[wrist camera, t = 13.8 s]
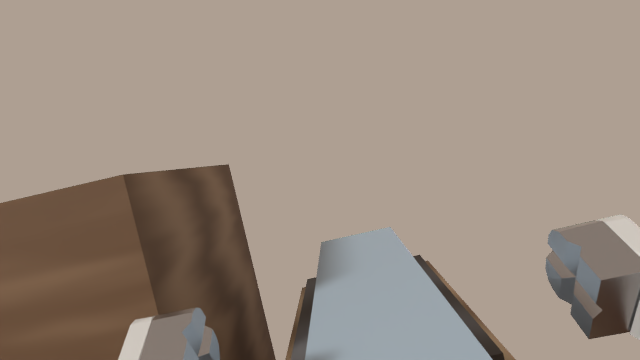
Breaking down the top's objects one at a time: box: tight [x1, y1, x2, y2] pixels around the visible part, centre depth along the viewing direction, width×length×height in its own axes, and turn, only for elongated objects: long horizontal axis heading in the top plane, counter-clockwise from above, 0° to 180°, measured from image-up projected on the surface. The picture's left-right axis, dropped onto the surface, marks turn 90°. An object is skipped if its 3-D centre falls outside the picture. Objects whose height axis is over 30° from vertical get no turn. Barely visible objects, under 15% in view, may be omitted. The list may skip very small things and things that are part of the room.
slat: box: [305, 227, 493, 360], centre depth 17 cm, size 22×4×2 cm, turn 178°
